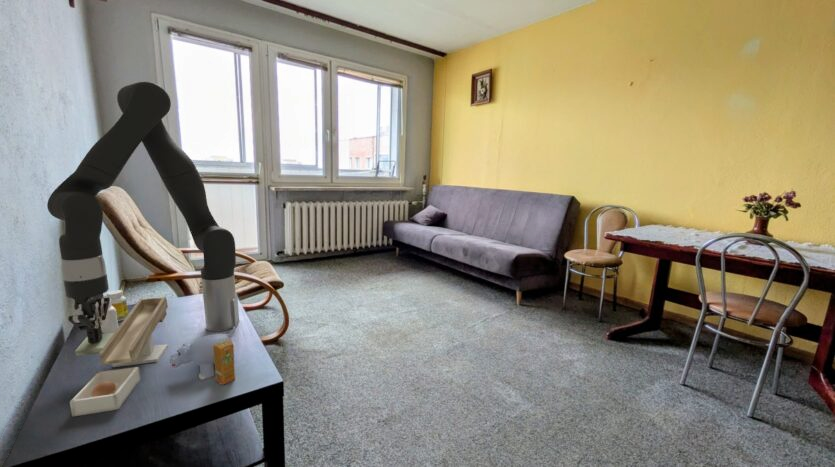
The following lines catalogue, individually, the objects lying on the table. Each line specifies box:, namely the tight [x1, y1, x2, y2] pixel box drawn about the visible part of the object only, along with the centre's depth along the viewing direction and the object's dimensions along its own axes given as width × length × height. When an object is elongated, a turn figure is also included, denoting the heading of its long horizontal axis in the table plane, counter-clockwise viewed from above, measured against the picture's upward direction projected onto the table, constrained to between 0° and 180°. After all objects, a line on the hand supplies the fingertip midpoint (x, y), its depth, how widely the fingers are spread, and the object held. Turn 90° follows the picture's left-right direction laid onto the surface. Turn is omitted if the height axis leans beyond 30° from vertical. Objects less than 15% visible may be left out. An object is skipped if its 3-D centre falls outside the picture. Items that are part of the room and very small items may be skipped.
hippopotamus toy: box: [169, 327, 236, 381], centre depth 90 cm, size 11×15×10 cm
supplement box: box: [213, 340, 236, 386], centre depth 85 cm, size 3×3×10 cm
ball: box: [92, 381, 116, 397], centre depth 77 cm, size 4×4×4 cm
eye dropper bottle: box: [101, 294, 119, 334], centre depth 107 cm, size 4×6×12 cm
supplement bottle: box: [106, 289, 129, 322], centre depth 116 cm, size 5×5×10 cm
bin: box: [69, 366, 141, 418], centre depth 79 cm, size 8×11×4 cm
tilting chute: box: [74, 296, 169, 366], centre depth 93 cm, size 13×24×6 cm, turn 18°
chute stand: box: [111, 333, 169, 368], centre depth 95 cm, size 10×8×6 cm
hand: (95, 341), depth 86 cm, fingers closed
